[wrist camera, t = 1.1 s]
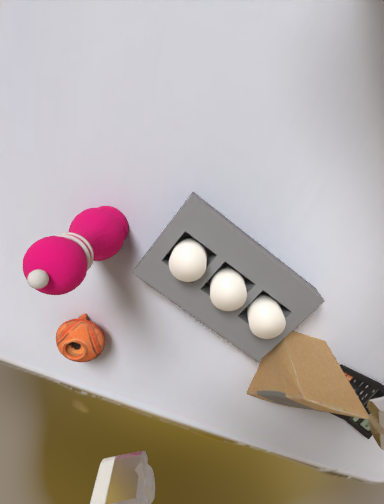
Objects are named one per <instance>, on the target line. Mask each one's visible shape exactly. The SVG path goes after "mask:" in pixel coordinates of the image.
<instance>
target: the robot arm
mask: <svg viewBox="0 0 384 504" xmlns="http://www.w3.org/2000/svg"><path fill="white" fill-rule="evenodd" d="M367 406H368V410H369V411H370V412H371V415H370V417H369V418H368V420H369V427H370V430H371V432H372V435H373V437H374V439H375V440H376V442H377V444H378V445H379V446H380V448H381V449H383V450H384V397H380V398H375V399H371V400H368V403H367ZM147 458H148V457H147V455H146V453H145V451H140V452H135V453H130V454H125V455H120V456H115V457H110V458H105V459H103V460H102V462H101V464H100V467H99V471H98V475H97V479H96V483H95V486H94V491H93V494H92V498H91V502H90V504H151V503H152V501H153V500H154V497H155V483H154V475H153V471H152V468H151V466H149V465H148V464H147Z"/></svg>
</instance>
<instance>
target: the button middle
mask: <svg viewBox="0 0 384 504" xmlns="http://www.w3.org/2000/svg"><path fill="white" fill-rule="evenodd" d="M210 299H211V301H212V303H213V304H214V305H215V306H216V307H217V308H218V309H220V310H223V311H234V310H237V309H239V308H240V307H241V306H243V304H244V303H245V301H246V299H247V290H246V286H245V281H244V277H243V275H242V274H241V273H240V272H239V271H237V270H236V269H235V268H233V267H230V266H224V267H221V268H219V269H218V270H217V271H216V272H215V273H214V274H213V275H212V277H211V280H210Z"/></svg>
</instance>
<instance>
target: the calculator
mask: <svg viewBox="0 0 384 504" xmlns="http://www.w3.org/2000/svg"><path fill="white" fill-rule="evenodd" d="M340 367H341V369H342V371H343V372H344V374H345V376H346V377H347V379H348V381H349V383H350V384H351V386H352V388H353V389H354V391H355V393H356V395H357V396H358V398H359V400H360V401H361V403H362V405H363V407H364V408H365V410H366V412H367V413H368V415H369V417H370V415H371V412H370V411H369V410H368V406H367V403H368V400H371V399H375V398H380V397H384V386H383V385H382V384H380V383H378V382H376V381H374V380H372V379H370V378H368V377H366V376H364V375H362V374H360V373H358V372H356V371H354V370H352V369H350V368H348V367H346V366H343V365H340ZM329 413H330V412H329ZM331 414H333V415H336V416H338V417H340V418H342V419H344V420H346V421H347V422H348V423H349V424H351V425H352V426H353V427H354V428H355V429H357V430H358V431H359V432H360V433H361V434H363V435H364V436H365V437H366V438H368V439H369V438H370V437H371V436H372V432H371V430H370V427H369V420H368V419H363V418H357V417H352V416H346V415H341V414H335V413H331Z"/></svg>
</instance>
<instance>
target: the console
mask: <svg viewBox="0 0 384 504" xmlns="http://www.w3.org/2000/svg"><path fill="white" fill-rule="evenodd" d="M184 238H195V239H196V240H198V241H199V242H200V243H202V244H203V245H204V246H205V247H206V250H207V264H206V270H205V273H204V274H203V276H202V277H201V278H199V279H198V280H196V281H193V282H184V281H180V280H178V279H177V278H175V277H174V276H173V275H172V273H171V271H170V269H169V259H170V256H171V254H172V251H173V249H174V246H175V245H176V243H177V242H178V241H180V240H181V239H184ZM224 266H230V267H233V268H235V269H236V270H237V271H239V272H240V273H241V274H242V275H243V277H244V281H245V286H246V290H247V299H246V301H245V303H244V304H243V306H241V307H240V308H239V309H237V310H234V311H223V310H220V309H218V308H217V307H216V306H215V305H214V304H213V303H212V301H211V299H210V280H211V277H212V275H213V274H214V273H215V272H216V271H217V270H218V269H219V268H221V267H224ZM133 274H135V275H136V276H137V277H139V278H140V279H142V280H143V281H144V282H146V283H147V284H149V285H150V286H152V287H153V288H154V289H156V290H157V291H159V292H160V293H161V294H163V295H164V296H166V297H167V298H168V299H170V300H171V301H173V302H174V303H176V304H177V305H178V306H180V307H181V308H183V309H184V310H185V311H187V312H188V313H190V314H191V315H193V316H194V317H195V318H197V319H198V320H200V321H201V322H202V323H204V324H205V325H207V326H208V327H209V328H211V329H212V330H214V331H215V332H217V333H218V334H219V335H221V336H222V337H224V338H225V339H226V340H228V341H229V342H231V343H232V344H234V345H235V346H236V347H238V348H239V349H241V350H242V351H243V352H245V353H246V354H248V355H249V356H250V357H252V358H253V359H255V360H256V361H258V362H259V361H260V360H261V359H262V358H263V357H264V356H265V355H266V354H267V353H269V352H270V351H271V350H272V349H273V348H274V347H275V346H276V345H277V344H278V343H279V342H280V341H282V340H283V339H284V338H285V337H286V336H287V335H288V334H289V333H290V332H291V331H292V330H294V329H295V328H296V327H297V326H298V325H299V324H300V323H301V322H302V321H303V320H304V319H306V318H307V317H308V316H309V315H310V314H311V313H312V312H313V311H314V310H315V309H316V308H317V307H319V306H320V305H321V304H322V303H323V302H324V299H323V298H322V297H321V295H320V294H319V292H318V291H317V290H316V288H315V287H313V286H312V285H311V284H309V283H308V282H307V281H306V280H304V279H303V278H302V277H301V276H299V275H298V274H297V273H295V272H294V271H293V270H292V269H290V268H289V267H288V266H287V265H285V264H284V263H283V262H281V261H280V260H279V259H278V258H276V257H275V256H274V255H273V254H271V253H270V252H269V251H267V250H266V249H265V248H264V247H262V246H261V245H260V244H259V243H257V242H256V241H255V240H253V239H252V238H251V237H250V236H248V235H247V234H246V233H245V232H243V231H242V230H241V229H239V228H238V227H237V226H236V225H234V224H233V223H232V222H231V221H229V220H228V219H227V218H225V217H224V216H223V215H222V214H220V213H219V212H218V211H217V210H215V209H214V208H213V207H212V206H210V205H209V204H208V203H206V202H205V201H204V200H203V199H201V198H200V197H199V196H198V195H196V194H195V193H194V192H193V193H192V194H191V195H190V197H189V198H188V199H187V201H186V202H185V203H184V205H183V206H182V207H181V208H180V210H179V211H178V212H177V214H176V215H175V216H174V218H173V219H172V220H171V222H170V223H169V224H168V225H167V227H166V228H165V229H164V231H163V232H162V233H161V235H160V236H159V237H158V239H157V240H156V241H155V242H154V244H153V245H152V246H151V248H150V249H149V250H148V252H147V253H146V254H145V256H144V257H143V258H142V260H141V261H140V262H139V264H138V265H137V267H136V268H135V270H134V271H133ZM259 294H269V295H270V296H272V297H273V298H274V299H276V300H277V301H278V303H279V305H280V307H281V310H282V312H283V315H284V317H285V320H286V325H285V329H284V330H283V332H282V333H281V334H280V335H278V336H277V337H274V338H271V339H263V338H259V337H257V336H256V335H254V334H253V333H252V331H251V330H250V327H249V322H248V316H247V311H246V307H247V306H248V305H249V304H250V303H251V302H252V301H253V300H254V299H255V298H256V297H257V296H258V295H259Z"/></svg>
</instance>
